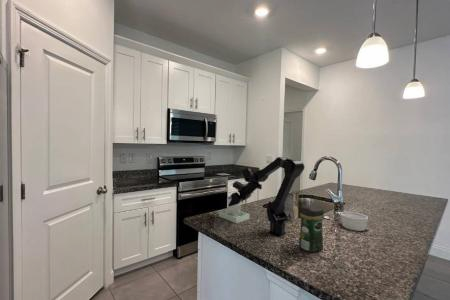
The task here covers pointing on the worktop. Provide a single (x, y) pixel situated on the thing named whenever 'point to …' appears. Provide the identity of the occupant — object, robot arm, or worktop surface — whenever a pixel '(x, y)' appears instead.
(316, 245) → the coffee jar
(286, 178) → the robot arm
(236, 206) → the tin
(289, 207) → the coffee box
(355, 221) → the ramekin
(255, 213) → the worktop surface
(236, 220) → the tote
